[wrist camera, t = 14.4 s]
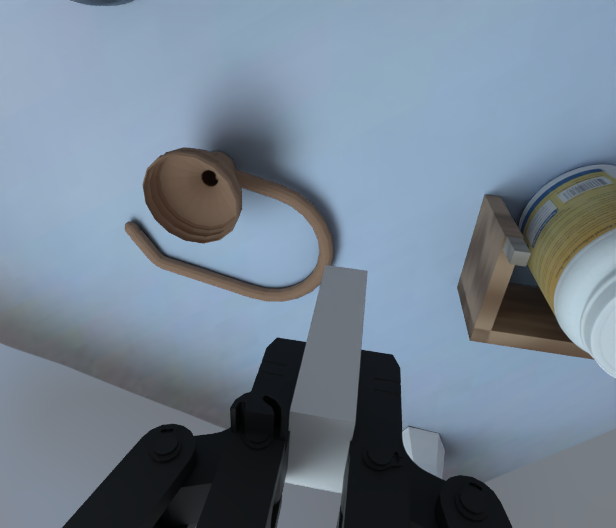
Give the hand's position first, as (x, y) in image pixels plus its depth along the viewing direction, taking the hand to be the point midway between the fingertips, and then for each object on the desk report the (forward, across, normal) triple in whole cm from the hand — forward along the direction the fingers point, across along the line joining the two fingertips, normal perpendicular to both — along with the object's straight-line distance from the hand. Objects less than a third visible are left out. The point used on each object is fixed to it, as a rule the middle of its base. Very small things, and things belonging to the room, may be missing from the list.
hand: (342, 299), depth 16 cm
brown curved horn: (+30, -13, -12) cm, 35 cm away
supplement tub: (+30, +22, -8) cm, 37 cm away
